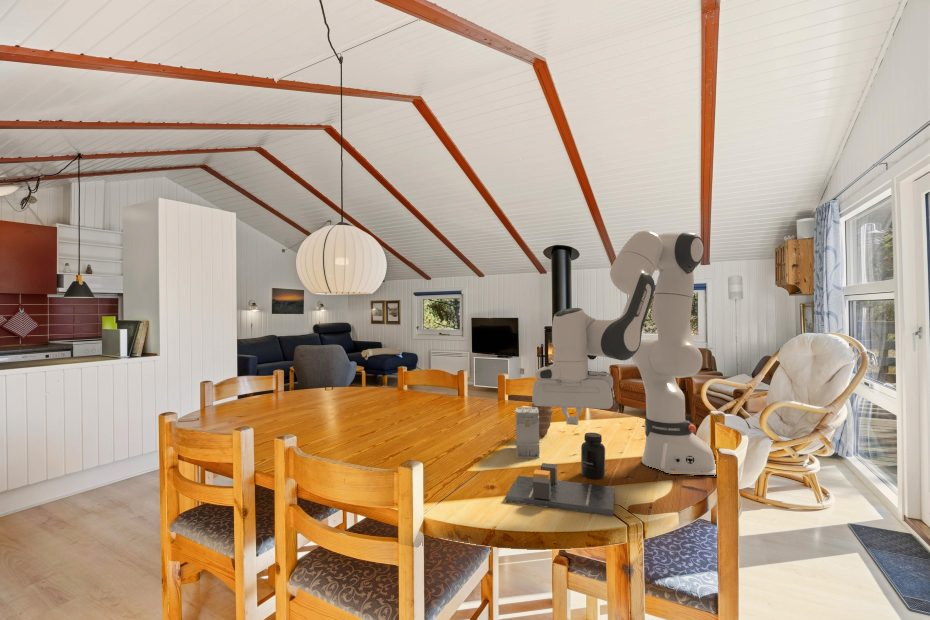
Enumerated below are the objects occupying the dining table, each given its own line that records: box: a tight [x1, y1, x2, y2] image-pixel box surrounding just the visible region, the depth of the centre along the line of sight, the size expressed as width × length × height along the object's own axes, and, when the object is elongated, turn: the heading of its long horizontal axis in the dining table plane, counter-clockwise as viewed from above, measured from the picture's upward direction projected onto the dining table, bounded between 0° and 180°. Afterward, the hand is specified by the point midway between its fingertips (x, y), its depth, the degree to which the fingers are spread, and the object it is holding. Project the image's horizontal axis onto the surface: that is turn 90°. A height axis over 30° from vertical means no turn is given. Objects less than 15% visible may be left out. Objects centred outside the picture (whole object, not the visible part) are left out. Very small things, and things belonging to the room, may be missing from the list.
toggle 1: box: [540, 462, 558, 483], centre depth 121 cm, size 4×3×4 cm
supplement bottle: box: [580, 432, 606, 480], centre depth 129 cm, size 7×7×12 cm
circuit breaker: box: [515, 406, 541, 459], centre depth 152 cm, size 8×14×15 cm, turn 174°
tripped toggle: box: [532, 469, 550, 481], centre depth 116 cm, size 4×3×4 cm
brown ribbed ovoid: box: [531, 402, 553, 437], centre depth 169 cm, size 9×8×18 cm
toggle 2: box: [533, 477, 551, 500], centre depth 111 cm, size 4×3×4 cm
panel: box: [505, 475, 615, 517], centre depth 114 cm, size 26×14×2 cm, turn 70°
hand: (572, 424), depth 114 cm, fingers closed
